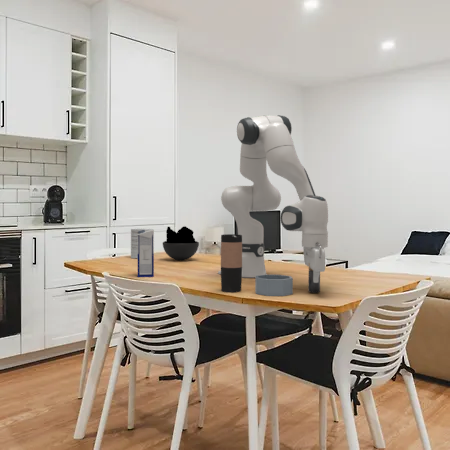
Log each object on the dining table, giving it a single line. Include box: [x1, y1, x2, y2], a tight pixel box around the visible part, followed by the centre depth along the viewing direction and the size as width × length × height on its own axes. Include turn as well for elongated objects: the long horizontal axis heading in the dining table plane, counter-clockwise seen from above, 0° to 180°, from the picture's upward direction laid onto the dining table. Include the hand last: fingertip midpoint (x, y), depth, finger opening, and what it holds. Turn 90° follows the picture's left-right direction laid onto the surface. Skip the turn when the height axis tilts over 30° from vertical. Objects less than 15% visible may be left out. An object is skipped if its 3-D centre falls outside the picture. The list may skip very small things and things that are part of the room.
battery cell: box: [307, 263, 321, 294], centre depth 173 cm, size 4×4×11 cm
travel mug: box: [220, 233, 243, 293], centre depth 176 cm, size 8×8×20 cm
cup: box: [254, 274, 294, 297], centre depth 173 cm, size 13×13×6 cm
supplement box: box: [130, 228, 154, 260], centre depth 283 cm, size 10×9×17 cm
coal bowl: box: [162, 225, 200, 261], centre depth 272 cm, size 20×20×19 cm
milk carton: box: [137, 229, 155, 278], centre depth 212 cm, size 7×7×20 cm
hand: (314, 281), depth 173 cm, fingers closed on battery cell, 4 cm apart
